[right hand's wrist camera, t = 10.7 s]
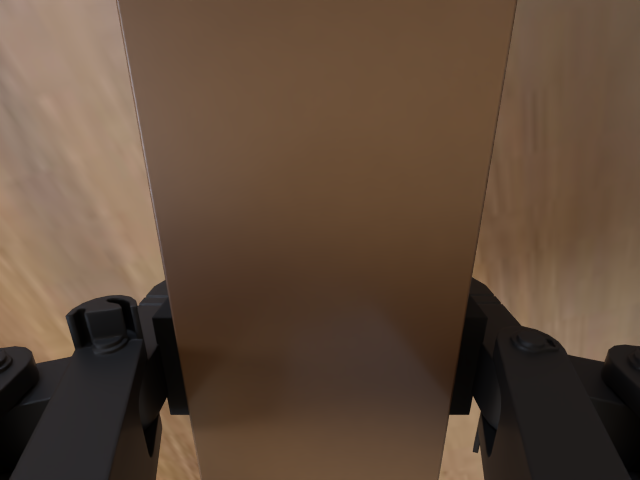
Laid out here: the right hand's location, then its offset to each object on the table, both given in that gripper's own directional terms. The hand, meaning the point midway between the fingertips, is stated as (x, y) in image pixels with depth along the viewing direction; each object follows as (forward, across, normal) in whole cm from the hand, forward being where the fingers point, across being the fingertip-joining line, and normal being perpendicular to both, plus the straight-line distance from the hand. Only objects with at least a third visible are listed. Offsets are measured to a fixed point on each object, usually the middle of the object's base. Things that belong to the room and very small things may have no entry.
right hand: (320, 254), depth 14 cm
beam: (+1, 0, -25) cm, 25 cm away
